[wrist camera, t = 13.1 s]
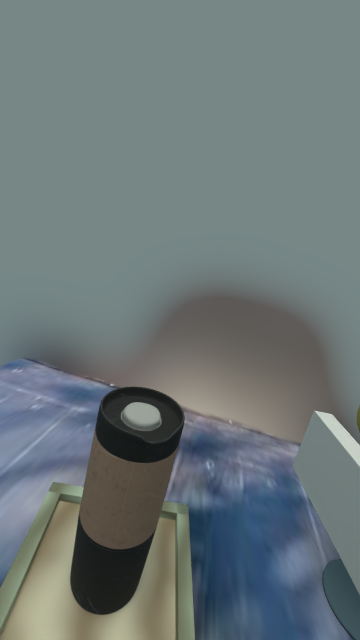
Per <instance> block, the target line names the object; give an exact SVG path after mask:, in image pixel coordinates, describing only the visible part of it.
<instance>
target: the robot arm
mask: <svg viewBox="0 0 360 640" xmlns="http://www.w3.org/2000/svg"><path fill="white" fill-rule="evenodd" d="M293 467H294V469H295V471H296V473H297V475H298V477H299V479H300V481H301V483H302V485H303V487H304V489H305V490H306V492H307V494H308V496H309V498H310V500H311V502H312V504H313V506H314V508H315V510H316V512H317V514H318V515H319V517H320V519H321V521H322V523H323V525H324V527H325V529H326V531H327V533H328V535H329V537H330V539H331V541H332V542H333V544H334V546H335V548H336V550H337V552H338V554H339V556H340V558H341V560H342V562H343V564H344V566H345V567H346V569H347V571H348V573H349V575H350V577H351V579H352V581H353V583H354V585H355V587H356V589H357V591H358V593H359V594H360V445H359V444H358V443H357V442H356V441H355V440H354V439H353V438H352V437H351V435H350V434H349V433H348V432H347V431H346V430H345V429H344V427H343V426H342V425H341V424H340V423H339V422H338V421H337V420H336V418H335V417H334V416H333V415H332V414H327V413H323V412H318V411H314V413H313V416H312V418H311V421H310V423H309V426H308V428H307V431H306V433H305V436H304V438H303V441H302V443H301V446H300V448H299V451H298V453H297V456H296V458H295V461H294V464H293Z"/></svg>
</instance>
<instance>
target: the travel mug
mask: <svg viewBox="0 0 360 640" xmlns="http://www.w3.org/2000/svg"><path fill="white" fill-rule="evenodd" d="M184 420H185V419H184V412H183V410H182V408H181V407H180V405H179V404H178V403H177V402H176V401H175V400H173V399H172V398H171V397H169V396H167V395H166V394H163V393H161V392H159V391H156V390H153V389H149V388H143V387H123V388H119V389H116V390H113V391H111V392H109V393H108V394H107V395H105V397H104V398H103V399H102V401H101V404H100V408H99V412H98V417H97V423H96V428H95V433H94V438H93V443H92V448H91V453H90V458H89V463H88V468H87V473H86V478H85V484H84V489H83V494H82V499H81V504H80V510H79V516H78V523H77V530H76V537H75V544H74V551H73V558H72V565H71V575H70V585H71V590H72V593H73V596H74V598H75V600H76V601H77V603H78V604H79V605H80V606H81V607H82V608H83V609H85V610H86V611H88V612H90V613H93V614H98V615H105V614H110V613H114V612H116V611H118V610H120V609H121V608H123V607H124V606H125V605H126V604H127V603H128V602H129V601H130V600H131V598H132V597H133V595H134V593H135V592H136V589H137V587H138V584H139V581H140V578H141V575H142V572H143V569H144V566H145V563H146V560H147V556H148V553H149V550H150V547H151V544H152V541H153V537H154V534H155V531H156V528H157V524H158V521H159V517H160V514H161V510H162V506H163V502H164V498H165V494H166V491H167V487H168V483H169V479H170V475H171V472H172V468H173V464H174V460H175V456H176V452H177V449H178V445H179V441H180V437H181V433H182V430H183V426H184Z"/></svg>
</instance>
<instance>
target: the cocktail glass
mask: <svg viewBox="0 0 360 640" xmlns="http://www.w3.org/2000/svg"><path fill="white" fill-rule="evenodd" d="M357 425H358V428H359V431H360V407H359V409H358V413H357ZM323 586H324V591H325V594H326V597H327V600H328V602H329V604H330V606H331V608H332V610H333V612H334V614H335V615H336V617H337V619H338V620H339V621H340V623H341V624H342V626H343V627H344V628H345V629H346V631H347V632H348V633H349V634H350V635H351V637H352V638H353V639H354V640H360V594H359V593H358V591H357V589H356V587H355V585H354V583H353V581H352V579H351V577H350V575H349V573H348V571H347V569H346V567H345V566H344V564H343V562H342V560H341V559H338V560H334V561H331V562H330V563H328V564H327V566H326V567H325V570H324V572H323Z"/></svg>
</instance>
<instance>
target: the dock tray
mask: <svg viewBox="0 0 360 640" xmlns="http://www.w3.org/2000/svg"><path fill="white" fill-rule="evenodd" d="M83 489H84V487H81V486H75V485H69V484H63V483H57V482H53V483H52V485H51V487H50V489H49V491H48V493H47V495H46V497H45V499H44V501H43V503H42V505H41V507H40V509H39V512H38V514H37V516H36V518H35V520H34V522H33V524H32V526H31V528H30V530H29V532H28V534H27V536H26V538H25V540H24V542H23V544H22V546H21V548H20V550H19V552H18V554H17V556H16V558H15V560H14V562H13V564H12V566H11V568H10V570H9V572H8V574H7V576H6V578H5V580H4V582H3V584H2V586H1V588H0V640H195V633H194V613H193V594H192V574H191V554H190V535H189V515H188V505H185V504H179V503H173V502H167V501H164V502H163V506H162V510H161V514H160V517H159V521H158V524H157V528H156V531H155V534H154V537H153V541H152V544H151V547H150V550H149V553H148V556H147V560H146V563H145V566H144V569H143V572H142V575H141V578H140V581H139V584H138V587H137V589H136V592H135V593H134V595H133V597H132V598H131V600H130V601H129V602H128V603H127V604H126V605H125V606H124V607H123V608H121V609H120V610H118V611H116V612H114V613H110V614H105V615H98V614H93V613H90V612H88V611H86V610H85V609H83V608H82V607H81V606H80V605H79V604H78V603H77V601H76V600H75V598H74V596H73V593H72V590H71V585H70V575H71V565H72V558H73V551H74V544H75V537H76V530H77V523H78V516H79V510H80V504H81V499H82V494H83Z"/></svg>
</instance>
